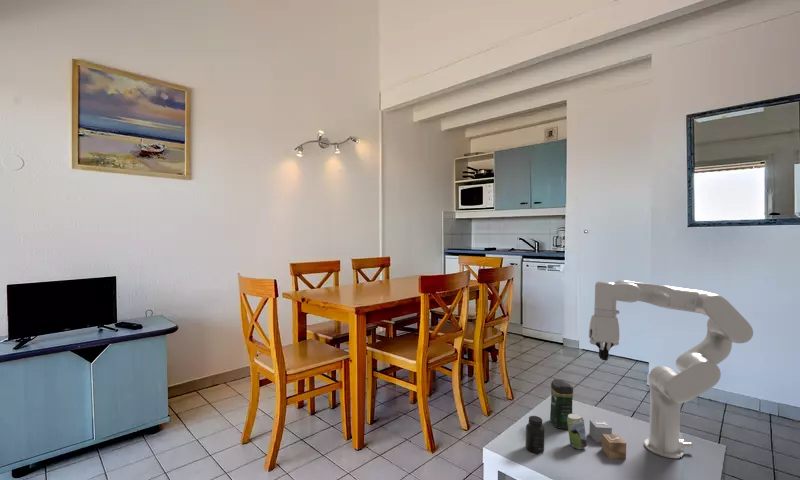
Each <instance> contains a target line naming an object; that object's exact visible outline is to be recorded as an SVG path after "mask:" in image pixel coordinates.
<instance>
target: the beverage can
mask: <svg viewBox="0 0 800 480" xmlns="http://www.w3.org/2000/svg"><path fill="white" fill-rule="evenodd" d="M567 424H568V429H567V431H568V437H569V443H570V446H572V447H573V448H575V449H577V450H583V449H585V448H586V447H587V446H588V441H587V440H588V439H587V433H586V428H585V426H586V425H585V421H584V418H583V416H582V415H581V414H579V413H576V412H575V413H573V412H572V414H569V415H568V417H567Z"/></svg>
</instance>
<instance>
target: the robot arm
mask: <svg viewBox="0 0 800 480" xmlns="http://www.w3.org/2000/svg"><path fill="white" fill-rule="evenodd" d="M617 301H618V302H623V303H630V304H631V303H637V302H641V303H642V302H643V303H646V304H650V305H653V306H656V307H659V308H663V309H666V310H667V309H668V310H675V311H684V312H688V313H697V314H701V315H704V316H707V317H708V320H707V322H706V328H707V329H706V331H707V332H706V336H705V338H704V339H703V340H702V341H700V342H699V343H698V344H697V345H695V346H693V347H691V348H690V349H688V350H687V351H685V352H683V353H682V354H680V355H679V356H678V357H677V358H676V360H675V366H676V369H677V370H678V371H679V372H677V371H675V370H674V369H672V368H670V367H668V366H665V365H658V366H655V367H653V368H652V369H651V370H650V372H649V374H648V383H649V384H648V385H649V392H650V401H649V403H650V404H649V429H648V431H649V433H648V438H646V439H644V441H643V444H644V447H645V448H646V449H648V451H650V452H651V453H653V454H655V455H657V456H661V457H663V458H669V459H681V458H683V457H684V456H683V455H685V452H684V450H683V449H685V448H687V449H692V448H693V446H694V445H693V443H692V442H689V441H685V440H684V439H681V438H680V429H681V428H680V427H681V426H680V425H681V422H680V421H681V404H683V403H688V402H689V401H692V400H694V399H696V398H697V397H698V396H700V395H702V394H704V393H705V392H707V391H709V390H710V389H712V388H714V387H715V386H716V385H717V384H718V383H719V381H720V380H721V375H722V373H721V369H720V368H719V366H718V365H719V364H721V362H723V361H724V360H726V359H727V357H728V356H730V354H731V352H732V351H731V350H732V348H733V347H732V345H733V343H734V344H744V343H748V342H749V341H751V340H752V338H753V336H754V330H753V327H752V325H751V323H750V322H749V321H748V320H747V319H746V318H745V317H744V316H743V315H742V314H741V313H740V312H739V310H737V308H736V307H734V306H733V305H732V304H731V303H730V301H729V300H727V298H725V297H724V296H722V295H720V294H717V293H713V292H709V291H705V290H700V289H692V288H684V287H678V286H670V285H663V284H662V285H660V284H653V283H646V282H638V281H631V280H622V279H621V280H616V281H614V282H612V281H605V280H600V281H597V282H596V283H595V285H594V307H593V308H594V312H593V313H594V314H592V315H591V316H590V317H591V318H590V322H589V329H588V338H589V344H590V345H594V346H596V347H597V348H598V357H599V359H600V360H602V361H608V358H609V354H610V353H609V351H611V348H613V347H616V346H619V345H620V344H619V343H620V342H619V341H620V325H619V324H620V323H619V319H618V317H617V315H620V311H619V310H617ZM682 456H683V457H682ZM680 457H681V458H680Z"/></svg>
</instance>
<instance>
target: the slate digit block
mask: <svg viewBox="0 0 800 480" xmlns="http://www.w3.org/2000/svg"><path fill="white" fill-rule="evenodd" d="M588 433H589V436H590V437H591V438H592V439H593V440H594V442H595V443H602V434H613V428H612V426H611V425H609V423H608V422H607V421H606V420H599V419H589V432H588Z"/></svg>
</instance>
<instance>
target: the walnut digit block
mask: <svg viewBox="0 0 800 480" xmlns="http://www.w3.org/2000/svg"><path fill="white" fill-rule="evenodd" d="M601 450H602V452H604V454H605V455H606V456H607V458H608V459H616V460H617V459H618V460H626V459H627V442H626V441H625V440H624V439H623V438H622V437H621V436H620V435H619V434H615V433H614V434H613V433H612V434H602V442H601Z"/></svg>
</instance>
